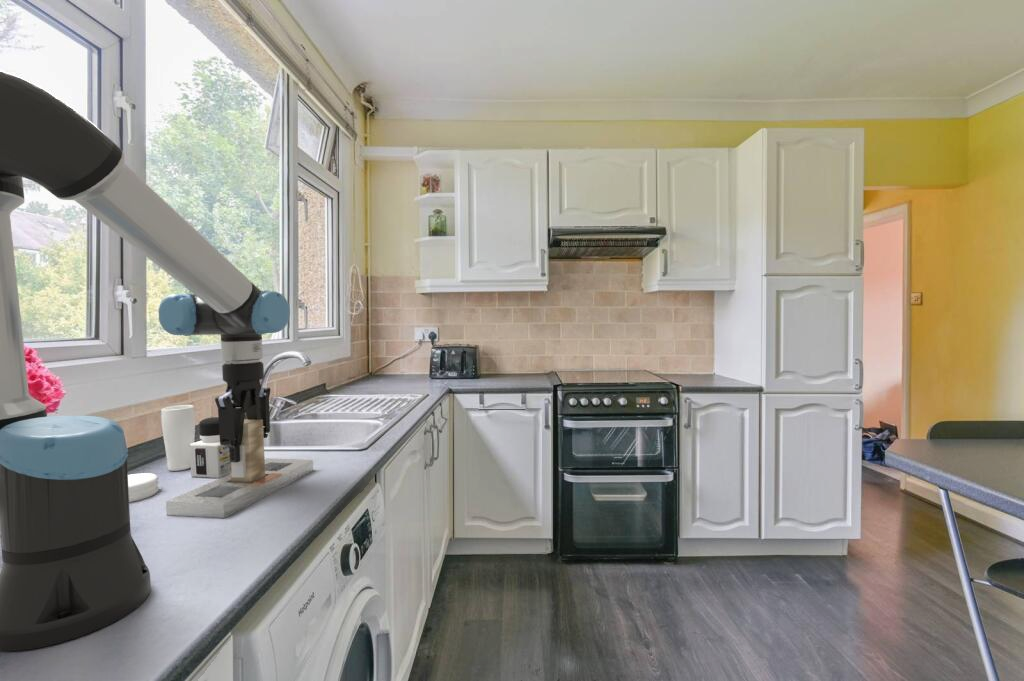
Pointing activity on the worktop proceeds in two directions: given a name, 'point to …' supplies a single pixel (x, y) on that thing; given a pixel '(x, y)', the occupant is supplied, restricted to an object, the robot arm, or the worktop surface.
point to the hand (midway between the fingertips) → (248, 472)
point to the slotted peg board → (237, 490)
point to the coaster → (142, 486)
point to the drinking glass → (178, 435)
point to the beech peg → (252, 451)
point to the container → (209, 452)
